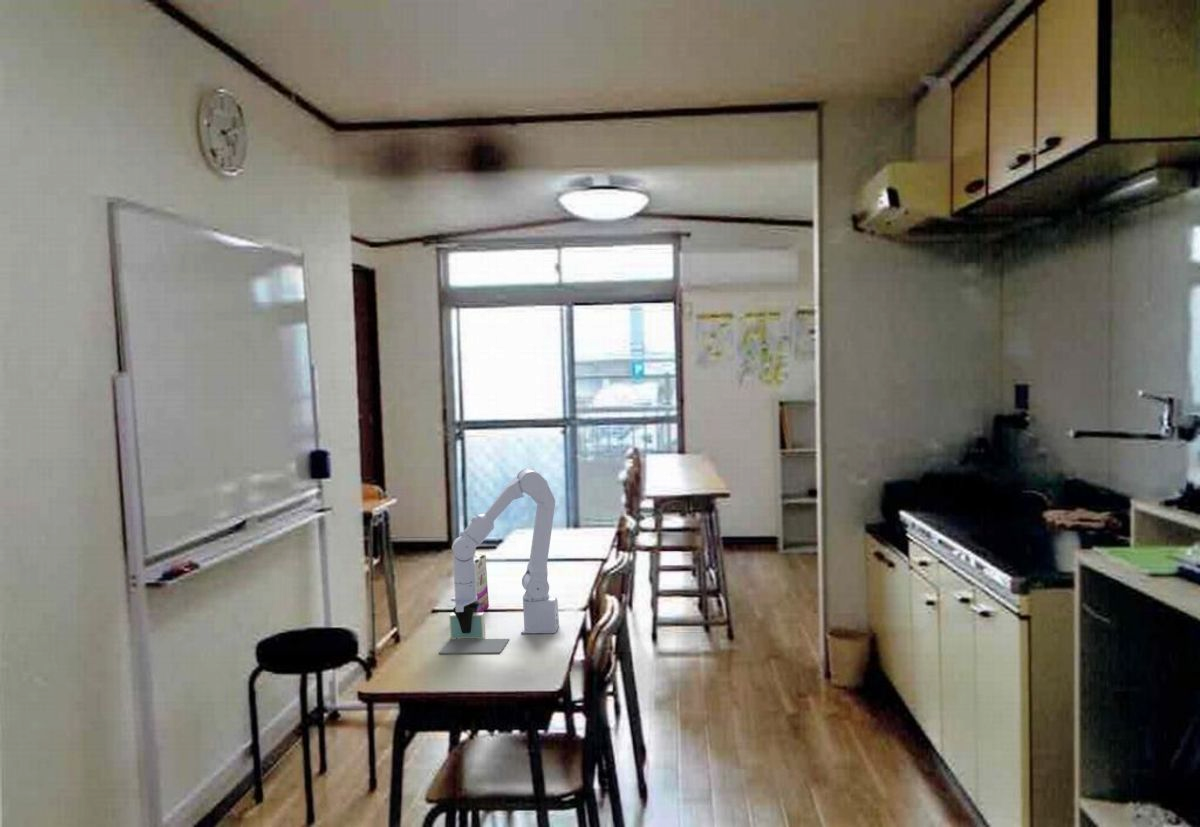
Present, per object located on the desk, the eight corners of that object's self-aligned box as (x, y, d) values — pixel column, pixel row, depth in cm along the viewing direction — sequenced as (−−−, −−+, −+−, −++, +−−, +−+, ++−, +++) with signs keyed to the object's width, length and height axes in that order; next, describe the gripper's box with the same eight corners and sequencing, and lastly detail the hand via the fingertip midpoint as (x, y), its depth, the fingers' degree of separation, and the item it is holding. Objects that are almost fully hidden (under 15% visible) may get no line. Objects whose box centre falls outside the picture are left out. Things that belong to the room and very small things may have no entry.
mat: (509, 640, 234) (509, 638, 234) (500, 653, 223) (500, 652, 223) (450, 640, 236) (450, 639, 236) (438, 654, 225) (438, 652, 225)
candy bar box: (473, 607, 268) (470, 553, 267) (489, 607, 267) (486, 553, 266) (460, 617, 257) (457, 562, 256) (476, 617, 256) (474, 562, 255)
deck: (485, 635, 239) (484, 612, 238) (483, 638, 236) (482, 615, 236) (453, 636, 240) (451, 612, 239) (450, 638, 237) (449, 615, 237)
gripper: (457, 575, 245) (460, 623, 246) (443, 588, 230) (445, 639, 231) (482, 574, 244) (485, 623, 245) (469, 588, 230) (472, 639, 230)
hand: (467, 631), depth 238 cm, fingers closed on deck, 2 cm apart
